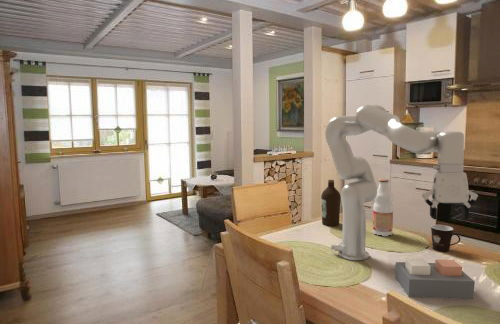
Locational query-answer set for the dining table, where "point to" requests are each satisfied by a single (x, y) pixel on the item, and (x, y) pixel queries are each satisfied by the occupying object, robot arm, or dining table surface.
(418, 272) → the cream key
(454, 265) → the terracotta key
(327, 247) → the dining table surface
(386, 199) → the fruit juice
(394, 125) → the robot arm
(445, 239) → the coffee mug
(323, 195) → the olive oil
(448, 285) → the grey button box
